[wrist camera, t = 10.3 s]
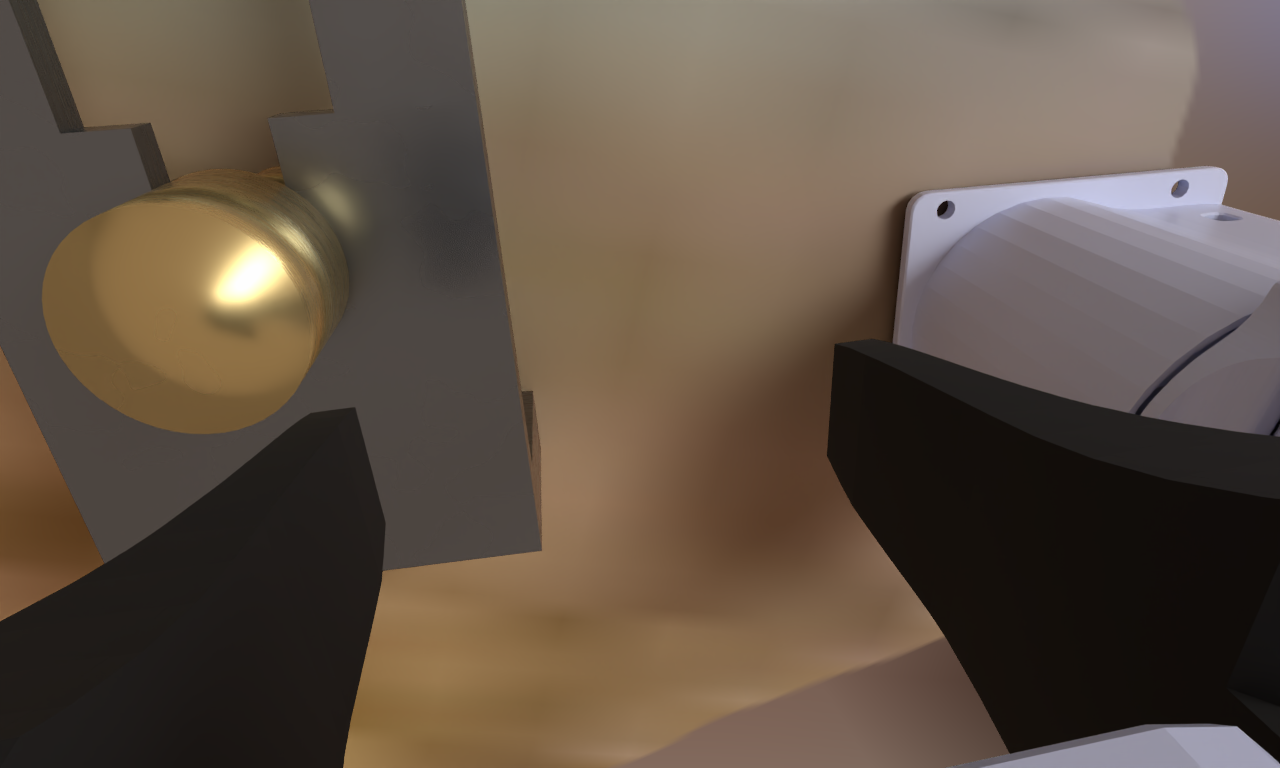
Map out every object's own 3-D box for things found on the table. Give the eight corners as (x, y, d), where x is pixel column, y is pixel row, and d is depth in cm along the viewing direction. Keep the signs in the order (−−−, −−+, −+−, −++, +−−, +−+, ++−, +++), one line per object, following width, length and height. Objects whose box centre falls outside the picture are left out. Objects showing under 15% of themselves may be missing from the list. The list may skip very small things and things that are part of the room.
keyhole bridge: (418, -447, 14) (365, -653, 10) (540, 448, 23) (541, 550, 19) (-147, -440, 14) (-481, -661, 9) (204, 486, 22) (123, 603, 18)
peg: (373, 140, 18) (288, 205, 12) (391, 300, 19) (327, 431, 13) (191, 137, 17) (4, 203, 11) (227, 302, 19) (83, 438, 13)
